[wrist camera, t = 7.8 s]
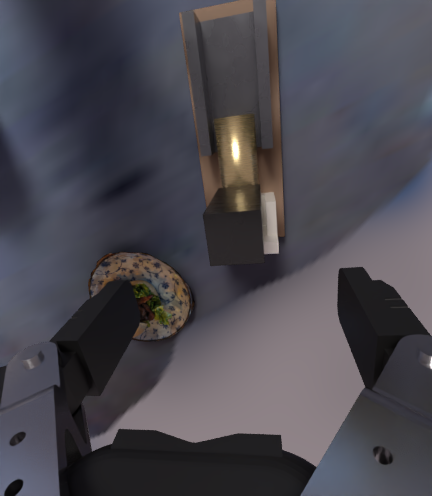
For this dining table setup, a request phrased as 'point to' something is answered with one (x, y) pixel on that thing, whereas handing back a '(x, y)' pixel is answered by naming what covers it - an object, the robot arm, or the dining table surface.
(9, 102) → the dining table surface
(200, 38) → the outer sleeve
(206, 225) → the dark grey block
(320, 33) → the dining table surface
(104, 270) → the burger
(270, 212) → the far socket
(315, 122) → the dining table surface
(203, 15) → the base board
